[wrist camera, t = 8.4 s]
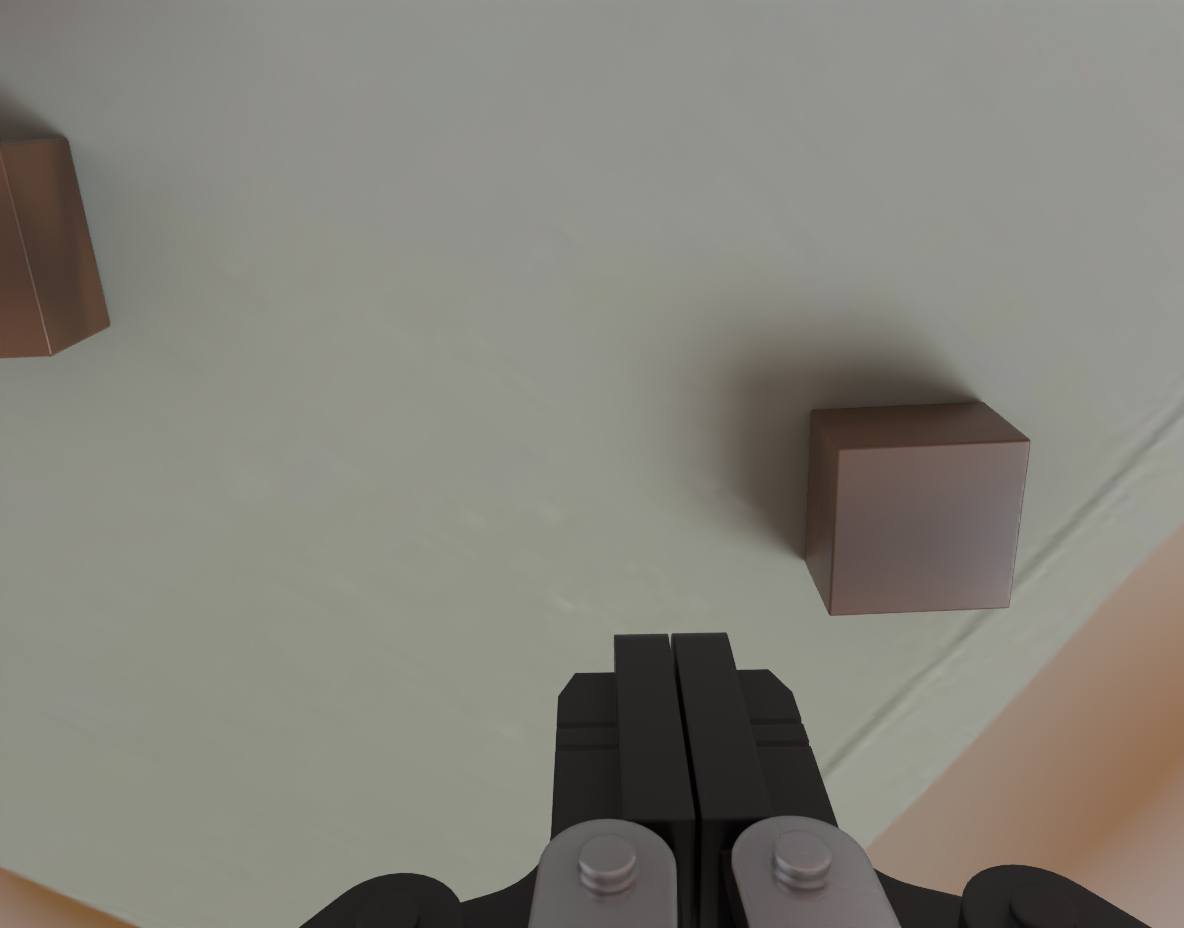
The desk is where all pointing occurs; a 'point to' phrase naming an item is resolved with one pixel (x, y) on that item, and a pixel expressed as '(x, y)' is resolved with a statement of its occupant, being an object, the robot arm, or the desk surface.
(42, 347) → the brown wooden block
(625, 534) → the desk surface
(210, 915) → the desk surface
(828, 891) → the robot arm
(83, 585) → the desk surface
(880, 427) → the dark reddish-brown block
